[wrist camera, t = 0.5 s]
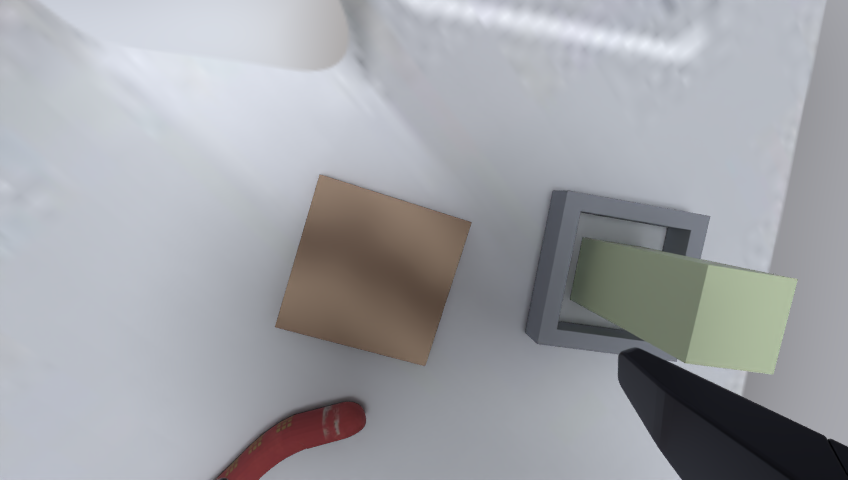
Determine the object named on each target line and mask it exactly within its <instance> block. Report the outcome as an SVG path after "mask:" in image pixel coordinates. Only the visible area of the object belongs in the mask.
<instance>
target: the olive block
mask: <svg viewBox="0 0 848 480" xmlns="http://www.w3.org/2000/svg"><path fill="white" fill-rule="evenodd" d="M796 284H797V279H794V278H789V277H784V276H779V275H774V274H770V273H765V272H760V271H755V270H750V269H746V268H741V267H736V266H731V265H726V264H721V263H717V262H712V261H707V260H702V259H697V258H692V257H688V256H683V255H678V254H673V253H668V252H663V251H659V250H654V249H649V248H644V247H639V246H633V245H627V244H621V243H615V242H609V241H603V240H597V239H590V238H584V237H583V238H582V243H581V248H580V253H579V258H578V262H577V267H576V272H575V277H574V282H573V287H572V292H571V297H570V300H572V301H574V302H576V303H578V304H579V305H581V306H583V307H585V308H587V309H588V310H590V311H592V312H594V313H596V314H597V315H599V316H601V317H603V318H605V319H606V320H608V321H610V322H612V323H614V324H615V325H617V326H619V327H621V328H623V329H624V330H626V331H628V332H630V333H632V334H633V335H635V336H637V337H639V338H641V339H643V340H644V341H646V342H648V343H650V344H652V345H653V346H655V347H657V348H659V349H661V350H662V351H664V352H666V353H668V354H670V355H671V356H673V357H675V358H677V359H679V360H680V361H682V362H684V363H687V364H695V365H703V366H711V367H719V368H727V369H734V370H742V371H750V372H758V373H766V374H773V373H774V370H775V365H776V362H777V358H778V354H779V350H780V346H781V342H782V338H783V335H784V331H785V327H786V322H787V319H788V315H789V311H790V307H791V303H792V299H793V296H794V292H795V287H796Z"/></svg>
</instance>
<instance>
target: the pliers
mask: <svg viewBox="0 0 848 480" xmlns="http://www.w3.org/2000/svg"><path fill="white" fill-rule="evenodd" d="M365 424H366V415H365V412H364V410H363V408H362V407H361V406H360V405H359V404H357V403H354V402H342V403H338V404H334V405H330V406H327V407H323V408H319V409H315V410H311V411H307V412H303V413H299V414H295V415H293V416H291V417H289V418H287V419H285V420H283V421H281V422H280V423H278V424H277V425H275V426H274V427H272V428H271V429H269V430H268V431H267V432H265V433H264V434H263V435H261V436H260V437H259V438H258V439H257V440H255V441H254V442H253V443H252V444H251V445H250V446H249V447H248V448H247V449H246V450H245V451H244V452H243V453H242V454H241V455H240V456H239V457H238V458H237V459H236V460H235V461H234V462H233V463H232V464H231V465H230V466H229V467H228V468H227V469H226V470H225V471H224V472H222V473H221V474H220V475H219V476H218V477H217V478H216V479H215V480H217V479H220V478H227V479H229V480H259V479H260V478H261V477H262V476H263V475H264V474H265V473H266V472H267V471H269V470H270V469H271V468H272V467H274V466H275V465H276V464H278V463H279V462H280V461H282V460H284V459H285V458H287V457H289V456H291V455H293V454H295V453H297V452H299V451H301V450H304V449H306V448H307V449H308V448H312V447H316V446H319V445H323V444H327V443H330V442H334V441H338V440H341V439H345V438H348V437H350V436H352V435H354V434H356V433H358V432H359V431H360V430H362V429H363V427H364V426H365Z"/></svg>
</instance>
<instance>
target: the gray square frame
mask: <svg viewBox="0 0 848 480" xmlns="http://www.w3.org/2000/svg"><path fill="white" fill-rule="evenodd" d="M581 212H582V213H588V214H594V215H599V216H605V217H611V218H617V219H622V220H628V221H634V222H640V223H645V224H651V225H657V226H663V227H668V229H667V234H666V238H665V243H664V247H663V252H668V253H673V254H678V255H683V256H688V257H692V258H697V259H701V254H702V250H703V246H704V241H705V237H706V233H707V228H708V224H709V220H710V216H707V215H701V214H695V213H690V212H684V211H679V210H673V209H668V208H662V207H657V206H651V205H645V204H640V203H634V202H629V201H623V200H618V199H612V198H607V197H601V196H596V195H590V194H584V193H579V192H573V191H553V193H552V198H551V203H550V209H549V214H548V219H547V224H546V229H545V234H544V239H543V244H542V249H541V255H540V260H539V265H538V270H537V275H536V280H535V285H534V290H533V295H532V301H531V306H530V311H529V316H528V321H527V326H526V331H525V333H526V334H527V335H528V336H529V337H531V338H532V339H533V340H534V341H535V342H536V343H537V344H542V345H550V346H558V347H565V348H573V349H581V350H589V351H597V352H605V353H612V354H619V353H620V352H621V351H624V350H627V349H630V348H633V347H637V348H641V349H643V350H645V351H647V352H649V353H651V354H653V355H656V356H658V357H660V358H662V359H664V360H667V361H675V362H677V358H675V357H673V356H671V355H670V354H668V353H666V352H664V351H662V350H661V349H659V348H657V347H655V346H653V345H652V344H650V343H648V342H646V341H644V340H643V339H641V338H639V337H637V336H635V335H633V334H632V333H630V332H628V331H626V330H618V329H611V328H604V327H596V326H589V325H582V324H574V323H567V322H560V321H559V316H560V311H561V306H562V301H563V296H564V292H565V287H566V282H567V277H568V272H569V267H570V262H571V257H572V252H573V247H574V242H575V237H576V232H577V227H578V223H579V218H580V213H581Z"/></svg>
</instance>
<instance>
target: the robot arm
mask: <svg viewBox="0 0 848 480" xmlns="http://www.w3.org/2000/svg"><path fill="white" fill-rule="evenodd" d="M618 380H619V383H620V385H621V387H622V389H623V390H624V392H625V394H626V395H627V397H628V399H629V400H630V402H631V404H632V405H633V407H634V409H635V410H636V412H637V414H638V415H639V417H640V419H641V420H642V422H643V423H644V425H645V427H646V428H647V430H648V432H649V433H650V435H651V437H652V438H653V440H654V441H655V443H656V445H657V446H658V448H659V449H660V451H661V452H662V453H663V455H664V456H665V458H666V459H667V460H668V462H669V463H670V464H671V466H672V467H673V468H674V470H675V471H676V472H677V474H678V475H679V476H680V478H681V479H682V480H848V447H847V446H845V445H843V444H841V443H839V442H837V441H835V440H833V439H828V440H827V438H826V437H825V436H824V435H822V434H820V433H817V432H815V431H813V430H811V429H809V428H807V427H805V426H803V425H801V424H799V423H797V422H794V421H792V420H790V419H788V418H786V417H784V416H782V415H780V414H778V413H775V412H773V411H771V410H769V409H767V408H765V407H763V406H761V405H759V404H757V403H754V402H752V401H750V400H748V399H746V398H744V397H742V396H740V395H738V394H736V393H733V392H731V391H729V390H727V389H725V388H723V387H721V386H719V385H717V384H714V383H712V382H710V381H708V380H706V379H704V378H702V377H700V376H698V375H696V374H693V373H691V372H689V371H687V370H685V369H683V368H681V367H679V366H677V365H674V364H672V363H670V362H668V361H666V360H664V359H662V358H660V357H658V356H656V355H653V354H651V353H649V352H647V351H645V350H643V349H641V348H637V347H633V348H630V349H627V350H624V351H621V352H620V353H619V356H618ZM217 480H229V479H227V478H220V479H217Z"/></svg>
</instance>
